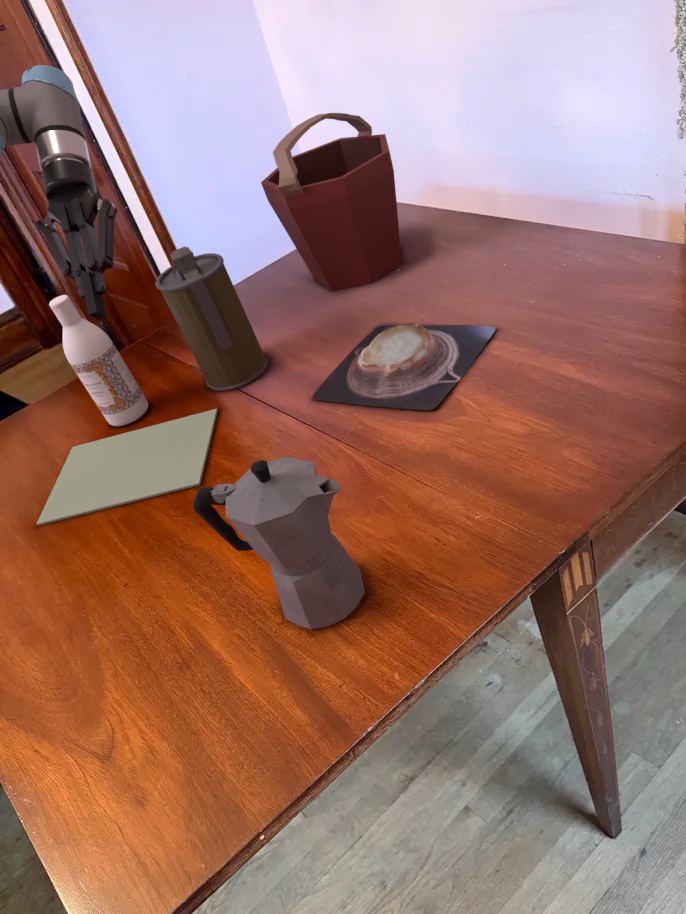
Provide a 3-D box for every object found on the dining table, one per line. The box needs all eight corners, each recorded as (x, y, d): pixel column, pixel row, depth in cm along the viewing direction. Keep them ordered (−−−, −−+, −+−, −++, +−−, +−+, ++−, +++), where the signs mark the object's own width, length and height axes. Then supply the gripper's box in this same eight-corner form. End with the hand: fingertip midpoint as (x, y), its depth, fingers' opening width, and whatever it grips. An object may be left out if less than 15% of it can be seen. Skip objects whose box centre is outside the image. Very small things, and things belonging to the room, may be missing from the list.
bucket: (344, 310, 125) (290, 155, 109) (272, 289, 140) (215, 149, 123) (444, 243, 134) (409, 90, 118) (367, 230, 149) (326, 92, 132)
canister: (201, 373, 123) (141, 257, 109) (259, 346, 124) (206, 229, 111) (214, 401, 115) (152, 279, 101) (276, 372, 116) (222, 249, 103)
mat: (37, 526, 102) (36, 524, 102) (73, 448, 115) (72, 446, 115) (200, 485, 99) (198, 483, 99) (218, 410, 112) (216, 408, 112)
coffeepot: (393, 561, 79) (339, 424, 67) (373, 631, 73) (310, 494, 61) (264, 565, 84) (192, 439, 72) (235, 632, 78) (151, 505, 66)
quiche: (498, 329, 108) (493, 304, 105) (434, 413, 97) (427, 387, 94) (379, 325, 118) (371, 302, 116) (309, 400, 107) (299, 377, 105)
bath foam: (101, 429, 118) (25, 315, 104) (122, 403, 122) (52, 290, 109) (136, 426, 115) (63, 309, 102) (157, 399, 120) (90, 284, 106)
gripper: (117, 170, 119) (147, 312, 118) (44, 194, 121) (73, 334, 120) (91, 145, 112) (123, 296, 111) (13, 171, 114) (44, 319, 113)
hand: (97, 315), depth 116 cm, fingers closed
